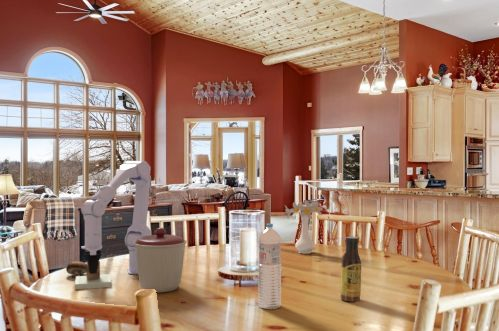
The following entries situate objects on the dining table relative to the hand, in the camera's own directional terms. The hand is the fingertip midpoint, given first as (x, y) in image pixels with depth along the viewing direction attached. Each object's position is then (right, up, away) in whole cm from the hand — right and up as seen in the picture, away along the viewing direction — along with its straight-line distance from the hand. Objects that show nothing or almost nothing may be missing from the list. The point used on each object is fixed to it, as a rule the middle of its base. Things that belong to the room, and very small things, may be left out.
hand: (93, 271), depth 172 cm
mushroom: (-10, -5, +13) cm, 17 cm away
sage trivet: (0, -4, 0) cm, 4 cm away
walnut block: (0, -2, 0) cm, 2 cm away
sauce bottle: (+88, -5, -19) cm, 90 cm away
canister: (+25, -5, -7) cm, 26 cm away
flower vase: (+82, -4, +59) cm, 101 cm away
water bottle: (+62, -5, -27) cm, 68 cm away
